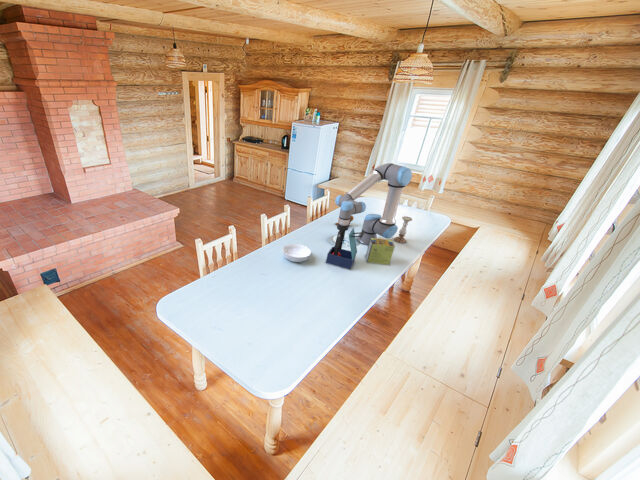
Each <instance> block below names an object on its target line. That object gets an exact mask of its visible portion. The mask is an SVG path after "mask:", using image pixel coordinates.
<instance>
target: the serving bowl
mask: <svg viewBox="0 0 640 480" xmlns="http://www.w3.org/2000/svg"><path fill="white" fill-rule="evenodd" d="M281 251H282V255H283V257H284V258H285V259H287V260H288V261H291V262H294V263H301V262H305V261H307V260H308V259H309V258H310V257H311V255H312V251H311V249H310V248H309V247H307V246H306V245H303V244H300V243H289V244H286V245H283V247H282V250H281Z"/></svg>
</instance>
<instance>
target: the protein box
mask: <svg viewBox="0 0 640 480" xmlns="http://www.w3.org/2000/svg"><path fill="white" fill-rule="evenodd" d="M395 247H396V246H395V243H394V241H393V239H387V238H370V242H369V245H367V250H366V253H365V258H366V263H370V264H378V265H386V266H387V265H388V266H389V265H390V263H391V259H392V256H393V254H394V251H395V249H396V248H395Z"/></svg>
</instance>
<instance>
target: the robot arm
mask: <svg viewBox="0 0 640 480" xmlns="http://www.w3.org/2000/svg"><path fill="white" fill-rule="evenodd" d="M412 178H413V172H412V170H411V169H410V168H408V167H406V166H403V165H400V164H399V165H398V164H395V163H392V162H388V163H383V164H381V165H379V166H377V167H375V168H374V169H373V170H371V171H370V173H369V175H367V176H366V177H365V178H364V179H362V180H361V181H360V182H358V183H357V184H356V185H355V186H353V187H352V188H351V189H349V191H347V192H346V193H345V194H343V195H342V194H339V195H336V197H335V199H334V203H335V205H336V206H338V207H340V209H339V214H338V218H337V223H338V224H337V225H336V229H337V230H338V232H337V236H336V240H335V244H334V245H333V247H335V250H334V255H337V256H338V251H339V250H341V249H343V244H344V242H345V237H346V236H345V235H346V231H348V230H349V227H350V224H351V222H350V218H351V215H352V216H353V215H358V214H361V213H364V212H365V211H366V209H367V205H366V203H365V202H364V201H356V200H357V199H358V198H359V197H361V195H363V194H364V193H366V191H368V190H369V189H370V188H372V187H373V186H374V185H376V184H377V183H380V182H381V181H383V180H385V181H387V186H388V190H387V194H386V200H385V204H384V208H383V213H382V215H381V214H378V213H367V214H366V215H365V217H364V219H363V222H362V228H361V231H360V232H362V231H364V232H365V233H364V235H363V237H362V238H360V237H356V241H357V242H358V243H360V244H363V245H366V246H368V245H369V242H370V238H377V237H378V236H381V237H382V238H383V239H386V240H389V239H391V238H393V236H395V235H396V234H397V232H398V230H399V227H398V225H396V224H397V220H396V214H397V210H398V207H399V203H400V198H401V196H402V192H403V189H404V188H406V186H408V185H409V184H410V182H411V180H412ZM338 219H339V220H338ZM349 223H350V224H349ZM358 236H360V234H358ZM377 239H378V238H377Z"/></svg>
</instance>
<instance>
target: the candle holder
mask: <svg viewBox="0 0 640 480" xmlns="http://www.w3.org/2000/svg"><path fill="white" fill-rule="evenodd" d="M401 220H403V222H402V227H401V228H400V229H399V231H398V236H396V237H394V241H395V242H396V243H398V244H399V243H400V244H405V243H406V241H407V240H406V238H405V236H406V234H407V226H408V225H409V222H412V221H413V218H412V217H410V216H405V215H404V216H402V217H401Z"/></svg>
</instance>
